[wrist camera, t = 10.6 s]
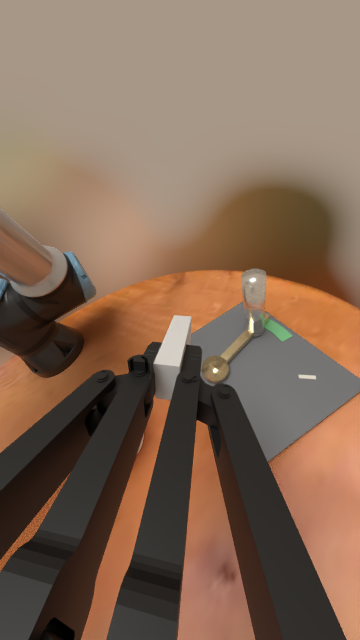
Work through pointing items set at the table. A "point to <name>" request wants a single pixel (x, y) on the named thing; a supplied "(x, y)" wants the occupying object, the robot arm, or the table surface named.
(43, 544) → the robot arm
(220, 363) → the tuning peg
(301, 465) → the table surface
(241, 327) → the dial board
